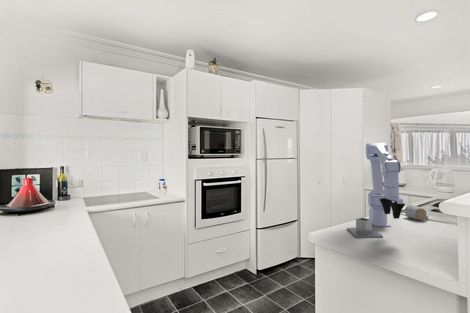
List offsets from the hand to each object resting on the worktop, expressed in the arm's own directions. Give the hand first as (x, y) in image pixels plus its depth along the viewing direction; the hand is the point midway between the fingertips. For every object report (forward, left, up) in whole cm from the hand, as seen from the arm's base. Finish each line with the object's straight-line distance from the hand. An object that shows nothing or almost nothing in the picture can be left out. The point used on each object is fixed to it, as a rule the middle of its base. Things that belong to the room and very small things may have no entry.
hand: (391, 216), depth 118 cm
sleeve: (-6, -10, -9) cm, 15 cm away
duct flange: (-6, -10, -10) cm, 15 cm away
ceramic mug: (-30, +30, -10) cm, 44 cm away
